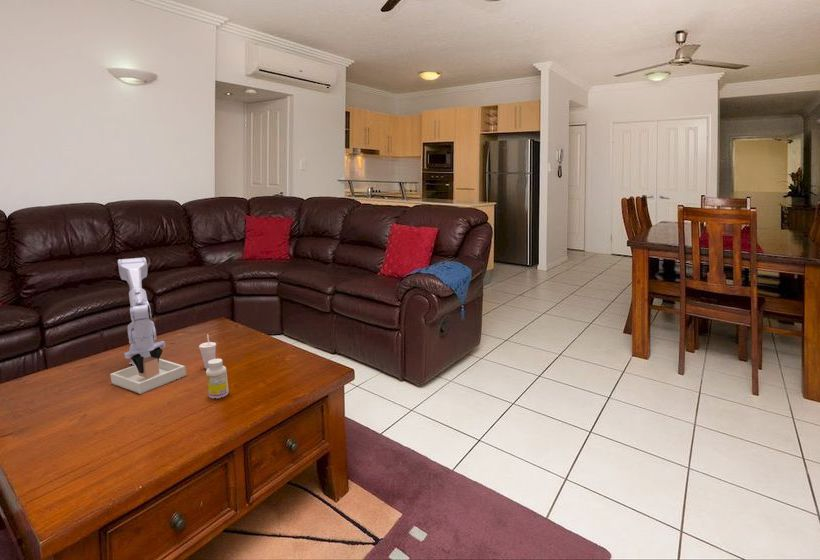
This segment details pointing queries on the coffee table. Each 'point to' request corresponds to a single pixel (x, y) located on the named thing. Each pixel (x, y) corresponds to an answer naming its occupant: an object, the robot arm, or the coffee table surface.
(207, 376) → the supplement bottle
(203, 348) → the smoothie
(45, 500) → the coffee table surface
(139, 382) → the tray
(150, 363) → the brown cube block
